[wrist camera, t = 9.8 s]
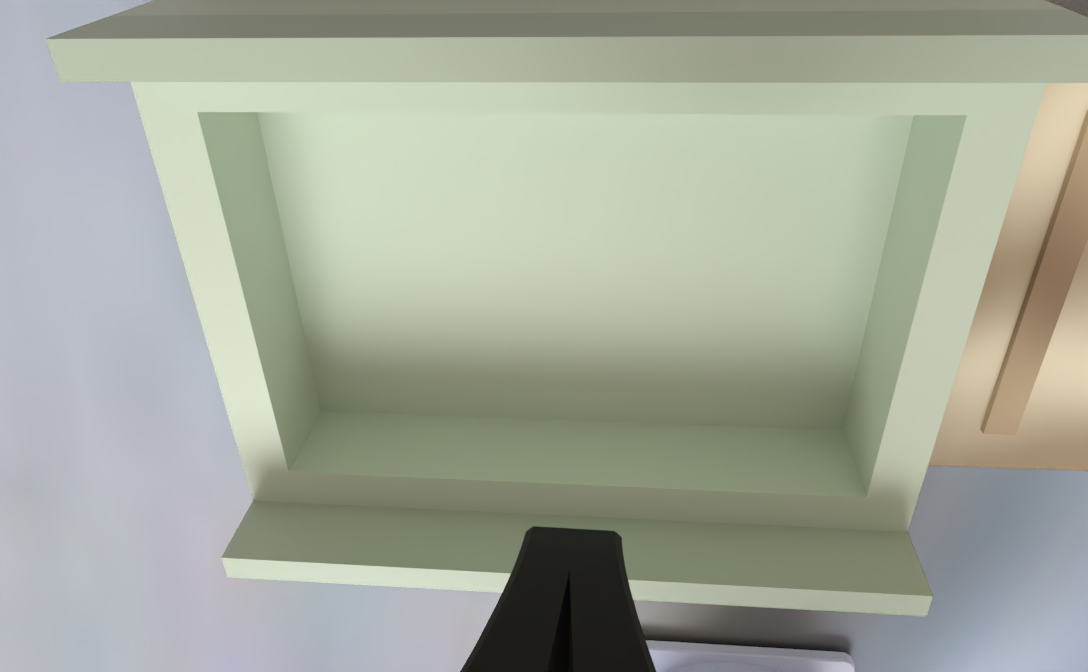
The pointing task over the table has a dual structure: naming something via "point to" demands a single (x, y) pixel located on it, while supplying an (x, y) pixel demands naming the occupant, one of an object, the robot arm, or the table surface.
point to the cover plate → (1031, 313)
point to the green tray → (587, 271)
